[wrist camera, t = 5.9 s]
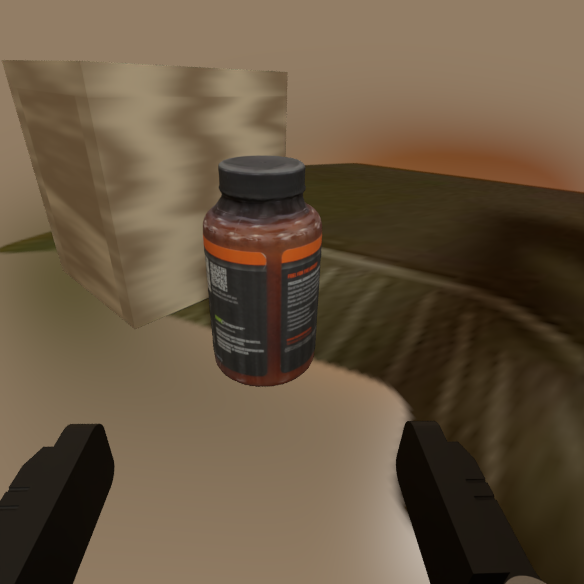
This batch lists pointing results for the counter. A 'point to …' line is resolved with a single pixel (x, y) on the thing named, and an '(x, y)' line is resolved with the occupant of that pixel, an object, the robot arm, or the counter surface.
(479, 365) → the counter surface
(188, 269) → the small wooden stand
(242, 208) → the supplement bottle
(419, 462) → the robot arm
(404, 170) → the counter surface
